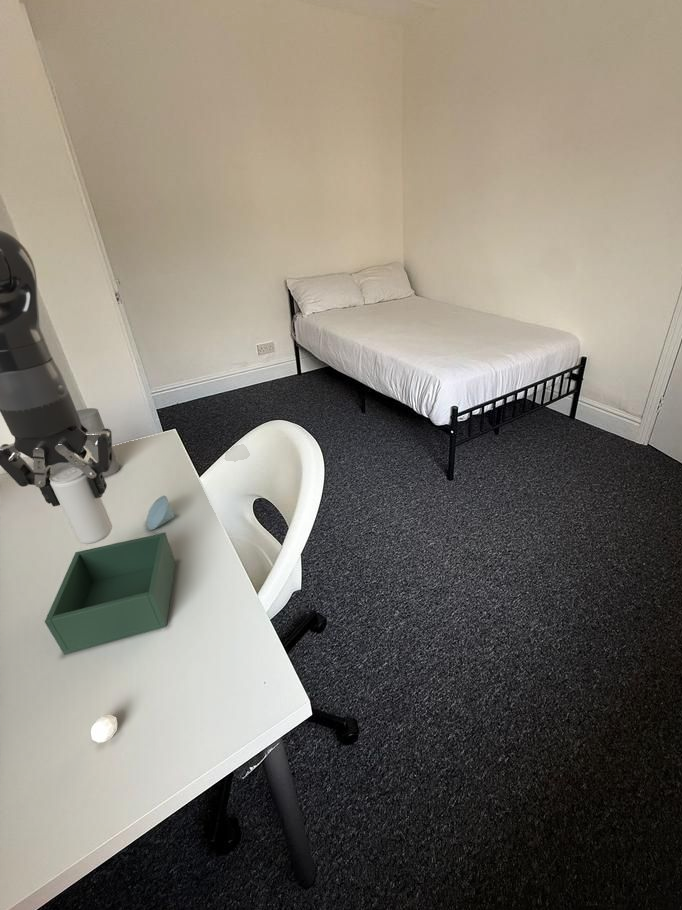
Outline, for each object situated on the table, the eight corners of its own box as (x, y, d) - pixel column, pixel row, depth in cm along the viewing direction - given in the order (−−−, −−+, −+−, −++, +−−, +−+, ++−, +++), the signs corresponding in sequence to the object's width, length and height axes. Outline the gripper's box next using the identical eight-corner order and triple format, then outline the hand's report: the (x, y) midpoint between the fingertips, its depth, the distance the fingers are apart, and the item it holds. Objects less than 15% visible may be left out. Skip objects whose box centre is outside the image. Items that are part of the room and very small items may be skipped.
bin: (64, 655, 65) (44, 622, 61) (90, 583, 77) (75, 552, 73) (166, 626, 69) (153, 594, 65) (175, 562, 81) (165, 532, 77)
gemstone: (183, 493, 95) (161, 487, 92) (186, 516, 90) (164, 510, 86) (163, 517, 96) (142, 512, 93) (166, 541, 91) (143, 536, 87)
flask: (49, 490, 103) (14, 419, 93) (55, 478, 107) (22, 409, 98) (118, 475, 108) (92, 406, 99) (120, 464, 113) (95, 397, 104)
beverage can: (70, 541, 65) (40, 478, 59) (99, 521, 69) (73, 460, 63) (92, 549, 63) (62, 485, 58) (120, 528, 67) (95, 466, 62)
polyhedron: (125, 721, 56) (118, 708, 55) (113, 747, 53) (105, 734, 52) (103, 722, 56) (95, 710, 55) (90, 748, 53) (82, 736, 52)
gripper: (102, 378, 60) (137, 475, 68) (-19, 393, 56) (33, 494, 64) (87, 398, 53) (127, 503, 61) (-50, 417, 50) (11, 526, 57)
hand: (79, 498), depth 62 cm, fingers closed on beverage can, 5 cm apart
